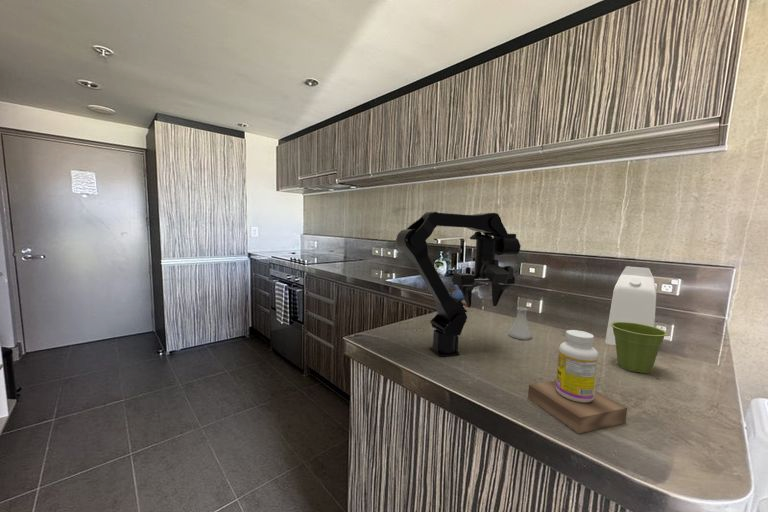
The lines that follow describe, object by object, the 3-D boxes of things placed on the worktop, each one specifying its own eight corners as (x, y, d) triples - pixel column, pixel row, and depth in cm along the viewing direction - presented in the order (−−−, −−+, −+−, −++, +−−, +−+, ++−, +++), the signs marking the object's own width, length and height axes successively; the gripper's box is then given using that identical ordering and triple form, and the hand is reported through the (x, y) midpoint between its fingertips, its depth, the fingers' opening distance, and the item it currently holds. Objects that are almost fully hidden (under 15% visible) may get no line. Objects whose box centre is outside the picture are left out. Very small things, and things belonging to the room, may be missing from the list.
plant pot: (611, 355, 92) (615, 319, 91) (664, 369, 84) (669, 329, 83) (602, 366, 84) (606, 326, 83) (660, 383, 75) (665, 338, 74)
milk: (653, 344, 103) (662, 268, 101) (652, 353, 95) (661, 270, 93) (609, 335, 112) (617, 264, 109) (604, 342, 103) (612, 266, 101)
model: (445, 302, 154) (446, 284, 153) (458, 301, 159) (459, 283, 158) (463, 308, 144) (464, 289, 143) (476, 306, 149) (478, 287, 148)
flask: (522, 341, 101) (524, 312, 100) (504, 334, 108) (506, 306, 107) (536, 338, 105) (538, 310, 104) (518, 332, 111) (520, 305, 110)
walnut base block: (578, 433, 55) (580, 417, 54) (527, 398, 66) (528, 384, 66) (625, 422, 58) (627, 407, 58) (569, 390, 70) (570, 378, 70)
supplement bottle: (559, 383, 67) (565, 326, 66) (596, 395, 62) (602, 333, 61) (551, 394, 62) (557, 332, 61) (590, 408, 57) (597, 341, 56)
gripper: (474, 257, 81) (471, 315, 82) (530, 258, 87) (526, 312, 88) (452, 254, 91) (449, 305, 93) (503, 254, 97) (500, 303, 99)
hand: (482, 306), depth 93 cm, fingers open, 9 cm apart
